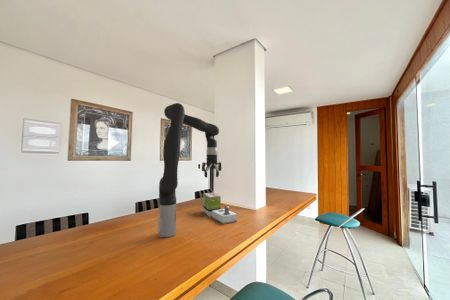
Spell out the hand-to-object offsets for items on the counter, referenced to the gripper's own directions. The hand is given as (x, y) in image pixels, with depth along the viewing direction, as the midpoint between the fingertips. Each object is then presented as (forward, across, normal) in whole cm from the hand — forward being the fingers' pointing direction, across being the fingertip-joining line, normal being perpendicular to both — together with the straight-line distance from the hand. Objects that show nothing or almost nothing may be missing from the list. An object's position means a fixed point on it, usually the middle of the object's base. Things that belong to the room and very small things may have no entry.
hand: (211, 177), depth 130 cm
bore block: (+30, +9, -2) cm, 31 cm away
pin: (+29, +9, -6) cm, 31 cm away
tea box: (+30, +8, +16) cm, 35 cm away
